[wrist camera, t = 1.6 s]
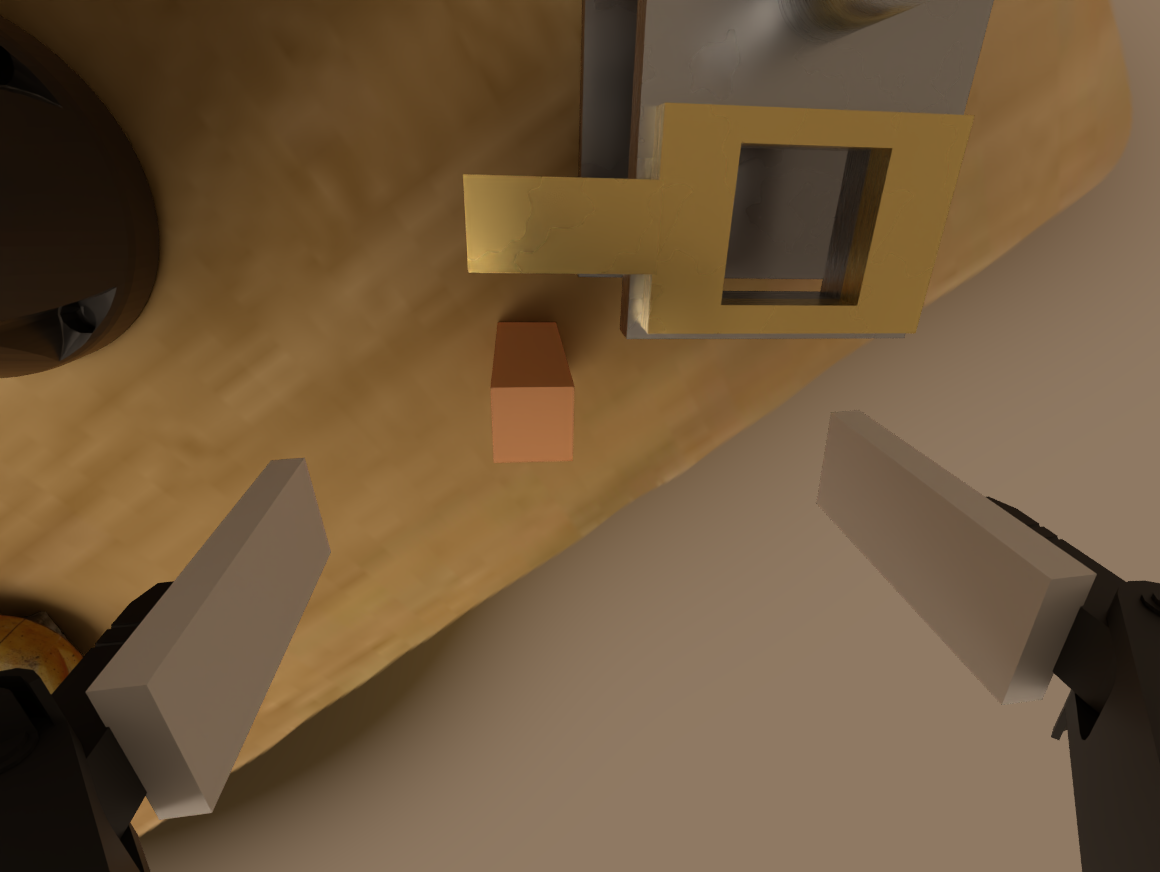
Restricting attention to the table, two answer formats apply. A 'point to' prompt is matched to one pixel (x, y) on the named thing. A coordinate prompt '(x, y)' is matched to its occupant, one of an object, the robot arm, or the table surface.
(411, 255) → the table surface
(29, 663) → the decorative figurine
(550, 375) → the wedge pin
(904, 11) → the grey and yellow stand
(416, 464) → the table surface
